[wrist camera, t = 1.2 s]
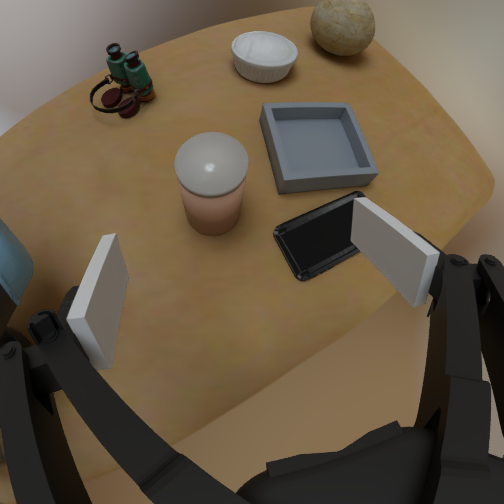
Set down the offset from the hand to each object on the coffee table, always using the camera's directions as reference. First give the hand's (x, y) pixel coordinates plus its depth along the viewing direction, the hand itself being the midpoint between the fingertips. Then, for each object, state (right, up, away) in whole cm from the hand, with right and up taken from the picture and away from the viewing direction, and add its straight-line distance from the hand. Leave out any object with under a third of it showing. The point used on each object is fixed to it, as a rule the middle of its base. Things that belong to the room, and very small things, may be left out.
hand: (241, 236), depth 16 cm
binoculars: (-20, +24, +27) cm, 41 cm away
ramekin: (+2, +32, +32) cm, 45 cm away
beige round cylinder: (-5, +5, +23) cm, 24 cm away
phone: (+11, +1, +25) cm, 27 cm away
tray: (+10, +14, +27) cm, 32 cm away
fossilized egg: (+17, +41, +36) cm, 58 cm away
